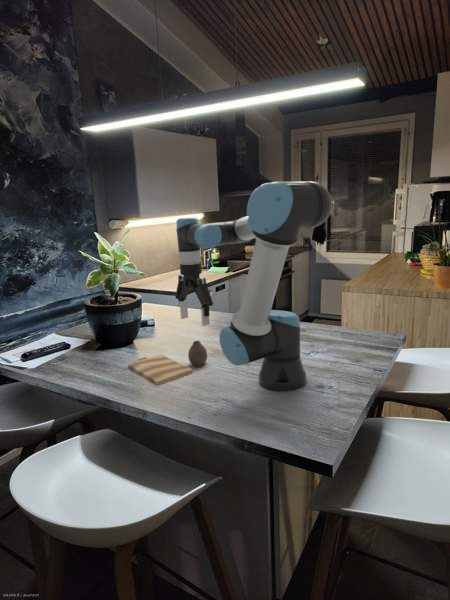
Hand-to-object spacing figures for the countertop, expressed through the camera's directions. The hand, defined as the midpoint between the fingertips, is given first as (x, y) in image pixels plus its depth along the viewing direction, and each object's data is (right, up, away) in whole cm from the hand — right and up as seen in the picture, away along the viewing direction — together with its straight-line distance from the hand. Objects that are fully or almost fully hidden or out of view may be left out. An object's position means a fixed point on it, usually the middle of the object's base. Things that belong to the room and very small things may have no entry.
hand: (194, 321), depth 146 cm
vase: (+1, -16, +4) cm, 17 cm away
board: (-14, -17, +1) cm, 22 cm away
